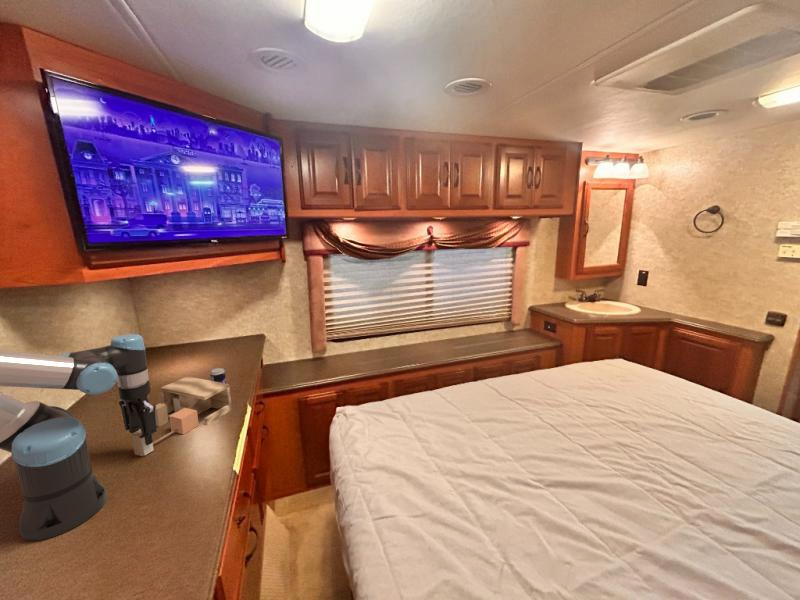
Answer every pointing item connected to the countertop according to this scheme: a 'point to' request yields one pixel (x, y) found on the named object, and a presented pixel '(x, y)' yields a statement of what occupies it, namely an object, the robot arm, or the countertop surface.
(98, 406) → the countertop surface
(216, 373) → the beverage can
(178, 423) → the tether block terracotta
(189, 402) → the shelf
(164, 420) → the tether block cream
